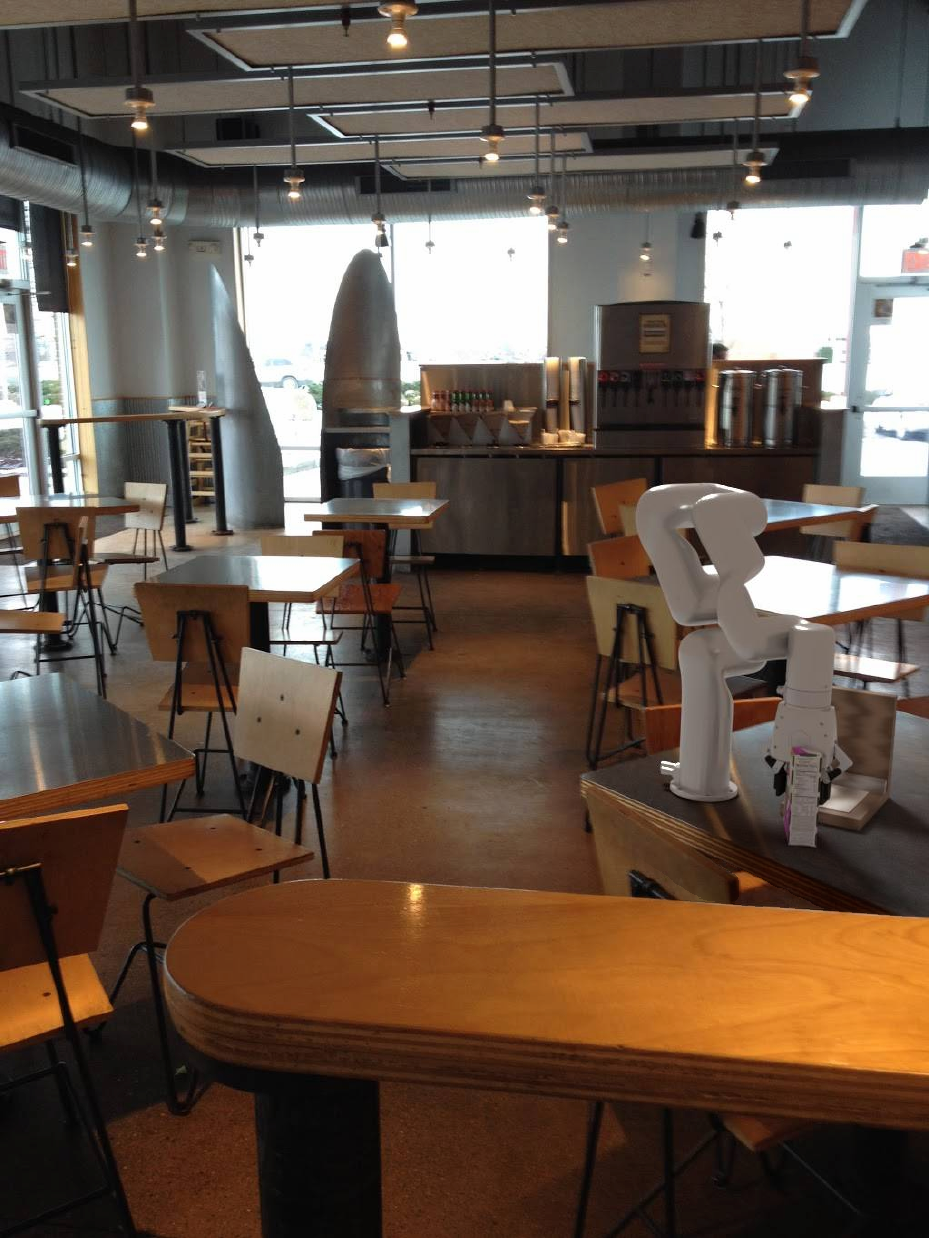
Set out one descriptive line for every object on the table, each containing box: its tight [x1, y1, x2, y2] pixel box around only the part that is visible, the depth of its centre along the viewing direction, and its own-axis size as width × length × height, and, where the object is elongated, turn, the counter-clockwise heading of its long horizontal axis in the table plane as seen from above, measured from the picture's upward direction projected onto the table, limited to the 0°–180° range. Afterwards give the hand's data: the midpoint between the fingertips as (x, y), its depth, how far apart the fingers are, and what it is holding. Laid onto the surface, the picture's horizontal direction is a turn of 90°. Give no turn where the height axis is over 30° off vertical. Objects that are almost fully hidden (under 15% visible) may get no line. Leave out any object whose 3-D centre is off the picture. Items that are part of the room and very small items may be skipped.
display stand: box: [779, 684, 899, 832], centre depth 202 cm, size 14×20×20 cm
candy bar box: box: [782, 748, 822, 848], centre depth 189 cm, size 11×5×16 cm, turn 168°
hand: (801, 797), depth 189 cm, fingers closed on candy bar box, 6 cm apart
